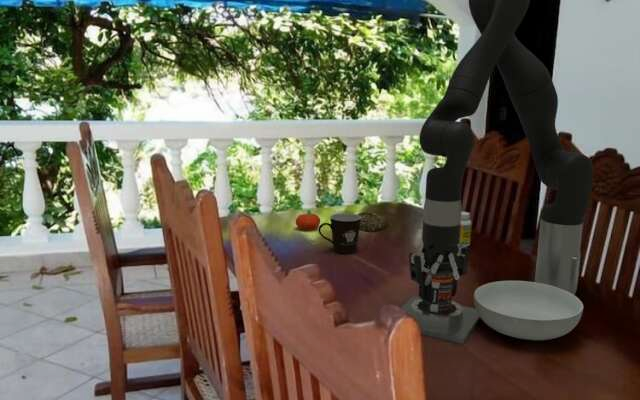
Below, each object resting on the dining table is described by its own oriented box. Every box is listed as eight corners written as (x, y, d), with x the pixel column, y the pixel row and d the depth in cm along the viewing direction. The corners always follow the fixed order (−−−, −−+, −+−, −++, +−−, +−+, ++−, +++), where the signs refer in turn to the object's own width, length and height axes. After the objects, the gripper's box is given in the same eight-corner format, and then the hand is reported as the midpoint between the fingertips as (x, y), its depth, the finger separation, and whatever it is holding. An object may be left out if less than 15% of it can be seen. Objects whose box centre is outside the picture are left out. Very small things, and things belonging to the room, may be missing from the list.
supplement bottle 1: (439, 320, 125) (442, 267, 122) (416, 311, 129) (418, 259, 126) (456, 312, 129) (459, 260, 126) (433, 303, 133) (436, 253, 130)
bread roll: (392, 225, 203) (393, 211, 201) (375, 234, 192) (375, 219, 191) (358, 220, 209) (358, 205, 208) (339, 228, 199) (340, 213, 198)
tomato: (293, 229, 198) (292, 209, 198) (316, 227, 201) (316, 207, 200) (299, 232, 192) (298, 211, 191) (323, 230, 194) (323, 210, 193)
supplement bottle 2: (458, 240, 186) (460, 209, 184) (473, 244, 182) (475, 213, 180) (447, 244, 182) (449, 212, 180) (463, 248, 178) (465, 216, 176)
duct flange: (483, 314, 132) (484, 301, 131) (462, 344, 118) (463, 329, 118) (413, 300, 140) (414, 287, 139) (385, 326, 126) (386, 312, 125)
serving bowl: (496, 301, 140) (499, 272, 138) (593, 327, 127) (597, 296, 125) (453, 331, 124) (455, 299, 122) (558, 364, 111) (562, 329, 110)
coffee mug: (360, 247, 178) (361, 213, 176) (359, 256, 170) (360, 221, 168) (320, 245, 179) (321, 212, 177) (317, 254, 171) (318, 220, 169)
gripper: (423, 228, 118) (419, 310, 122) (482, 220, 124) (476, 298, 128) (401, 219, 124) (398, 297, 128) (458, 212, 131) (454, 286, 134)
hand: (437, 297), depth 128 cm, fingers closed on supplement bottle 1, 6 cm apart
